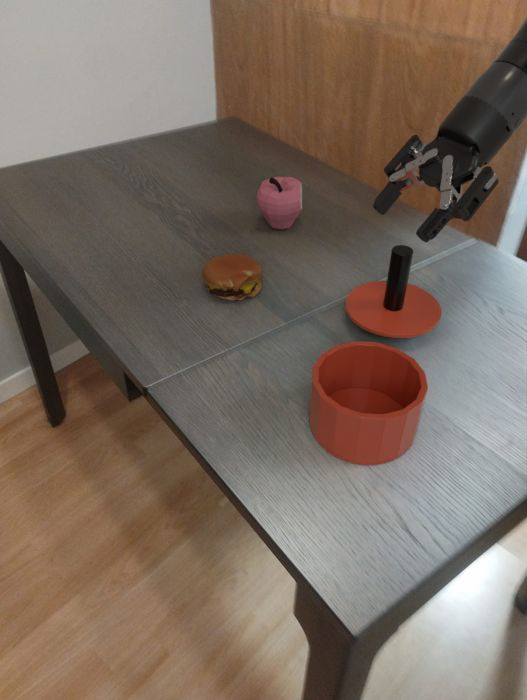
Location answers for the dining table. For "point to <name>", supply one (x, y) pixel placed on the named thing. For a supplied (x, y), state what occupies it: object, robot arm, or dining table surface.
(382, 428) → the cup
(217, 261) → the burger
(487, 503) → the dining table surface
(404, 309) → the cooker lid
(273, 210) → the apple
